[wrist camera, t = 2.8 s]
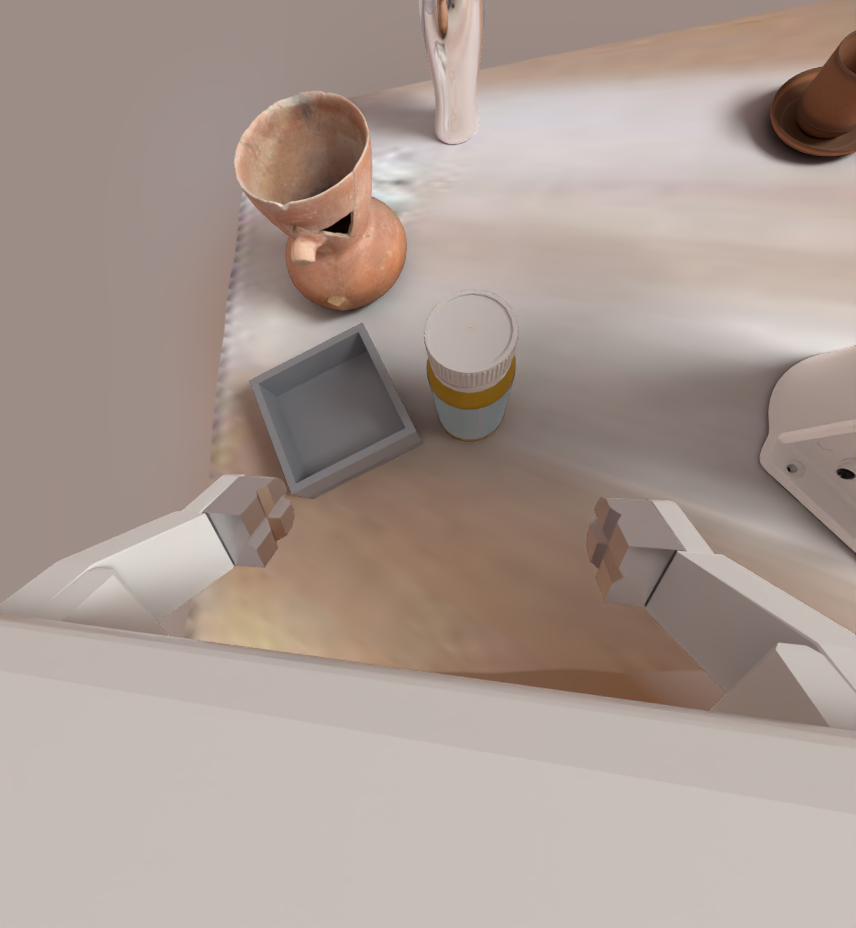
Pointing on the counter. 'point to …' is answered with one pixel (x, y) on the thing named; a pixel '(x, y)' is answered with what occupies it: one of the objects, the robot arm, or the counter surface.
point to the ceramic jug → (322, 198)
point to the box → (333, 414)
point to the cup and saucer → (820, 106)
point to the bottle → (471, 361)
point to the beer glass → (454, 63)
